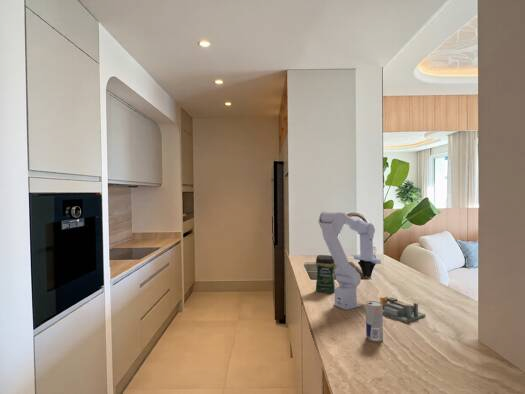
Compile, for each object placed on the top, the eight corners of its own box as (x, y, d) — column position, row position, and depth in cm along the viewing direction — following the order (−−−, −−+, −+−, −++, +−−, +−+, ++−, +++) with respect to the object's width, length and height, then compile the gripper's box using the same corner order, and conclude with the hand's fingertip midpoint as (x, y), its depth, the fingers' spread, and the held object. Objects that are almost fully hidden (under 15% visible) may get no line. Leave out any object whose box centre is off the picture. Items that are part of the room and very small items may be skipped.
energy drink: (369, 334, 111) (369, 299, 111) (385, 338, 108) (384, 302, 108) (363, 339, 107) (363, 303, 107) (379, 343, 104) (379, 307, 104)
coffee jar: (314, 292, 161) (314, 256, 161) (317, 288, 169) (317, 253, 169) (334, 294, 158) (333, 257, 158) (336, 290, 165) (335, 254, 165)
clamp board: (406, 322, 121) (406, 308, 121) (372, 310, 135) (372, 297, 135) (425, 316, 127) (425, 302, 127) (391, 305, 141) (391, 292, 141)
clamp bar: (415, 308, 125) (415, 304, 125) (411, 309, 124) (411, 305, 124) (388, 299, 137) (388, 296, 137) (383, 300, 135) (383, 297, 135)
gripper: (384, 249, 146) (385, 278, 146) (360, 245, 158) (361, 272, 159) (374, 251, 142) (375, 281, 143) (350, 246, 155) (351, 274, 155)
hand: (367, 276), depth 150 cm, fingers closed
